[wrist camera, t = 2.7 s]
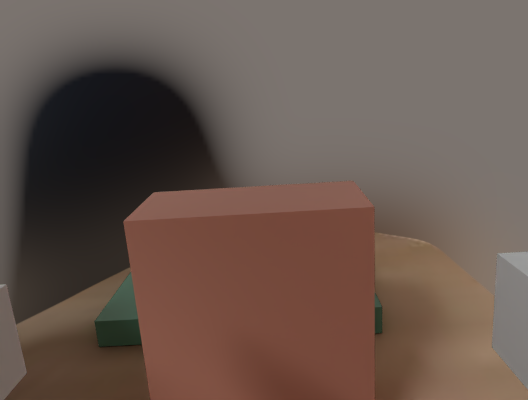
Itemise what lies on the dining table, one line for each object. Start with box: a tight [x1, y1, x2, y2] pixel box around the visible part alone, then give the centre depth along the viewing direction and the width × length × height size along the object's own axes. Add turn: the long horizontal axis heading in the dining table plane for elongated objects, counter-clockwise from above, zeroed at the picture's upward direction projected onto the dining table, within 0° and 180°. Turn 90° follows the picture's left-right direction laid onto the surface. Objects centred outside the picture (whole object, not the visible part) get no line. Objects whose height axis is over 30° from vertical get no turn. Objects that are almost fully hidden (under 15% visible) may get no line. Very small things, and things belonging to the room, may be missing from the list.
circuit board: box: [94, 272, 382, 347], centre depth 37 cm, size 20×12×6 cm, turn 89°
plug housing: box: [124, 181, 375, 400], centre depth 23 cm, size 11×5×12 cm, turn 89°
